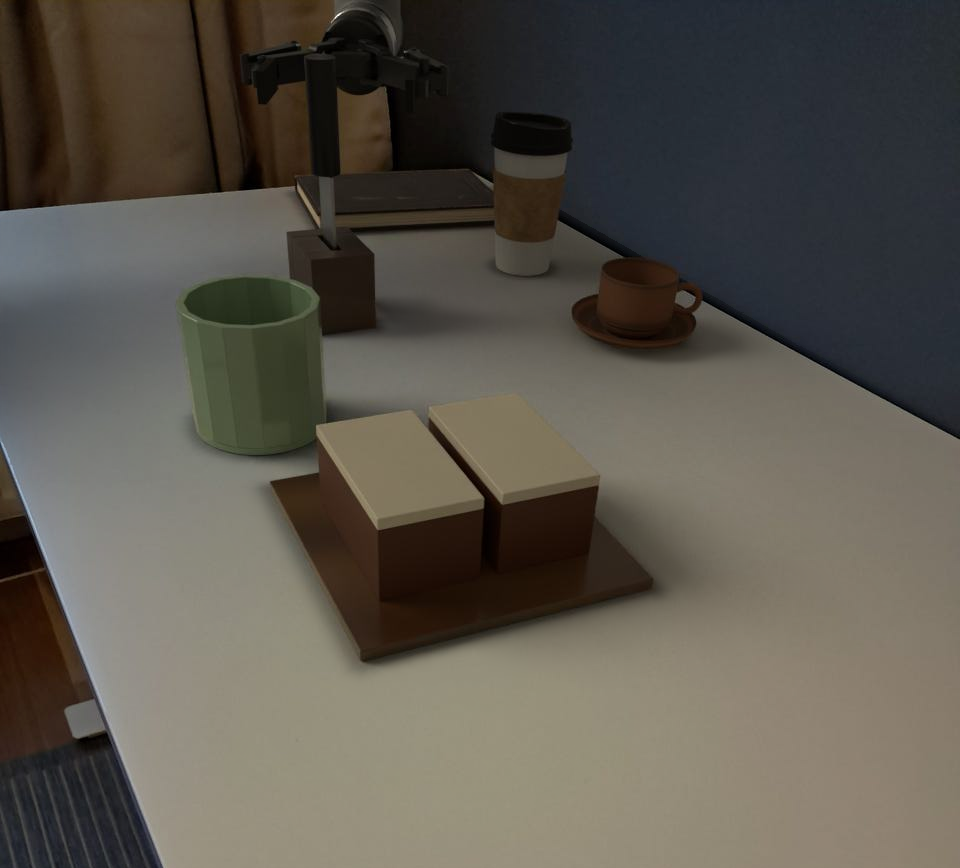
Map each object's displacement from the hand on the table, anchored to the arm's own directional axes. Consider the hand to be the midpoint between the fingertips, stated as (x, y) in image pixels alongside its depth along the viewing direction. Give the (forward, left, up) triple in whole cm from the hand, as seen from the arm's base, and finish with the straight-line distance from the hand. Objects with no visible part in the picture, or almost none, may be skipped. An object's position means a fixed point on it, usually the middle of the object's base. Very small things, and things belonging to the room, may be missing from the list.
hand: (335, 92), depth 89 cm
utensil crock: (+26, -15, -18) cm, 35 cm away
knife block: (+7, -3, -18) cm, 20 cm away
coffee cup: (0, +21, -18) cm, 27 cm away
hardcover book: (-23, +15, -18) cm, 33 cm away
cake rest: (+46, -11, -17) cm, 50 cm away
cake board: (+46, -7, -18) cm, 50 cm away
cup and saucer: (+20, +23, -18) cm, 35 cm away
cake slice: (+46, -3, -17) cm, 49 cm away
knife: (+7, -3, -18) cm, 20 cm away
